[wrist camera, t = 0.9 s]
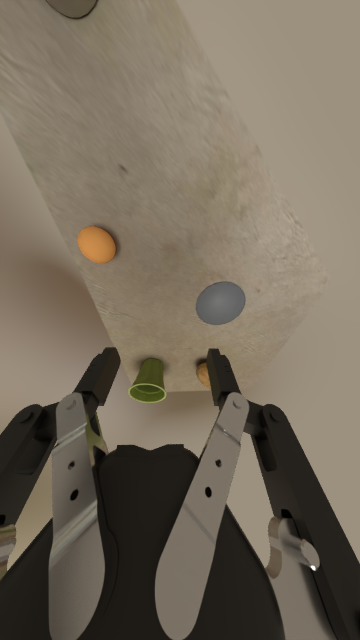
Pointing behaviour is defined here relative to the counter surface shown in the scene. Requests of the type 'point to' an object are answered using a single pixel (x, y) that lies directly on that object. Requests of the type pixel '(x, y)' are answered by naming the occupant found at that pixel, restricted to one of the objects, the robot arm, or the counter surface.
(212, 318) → the disc
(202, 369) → the potato
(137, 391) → the plant pot
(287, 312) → the counter surface
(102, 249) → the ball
